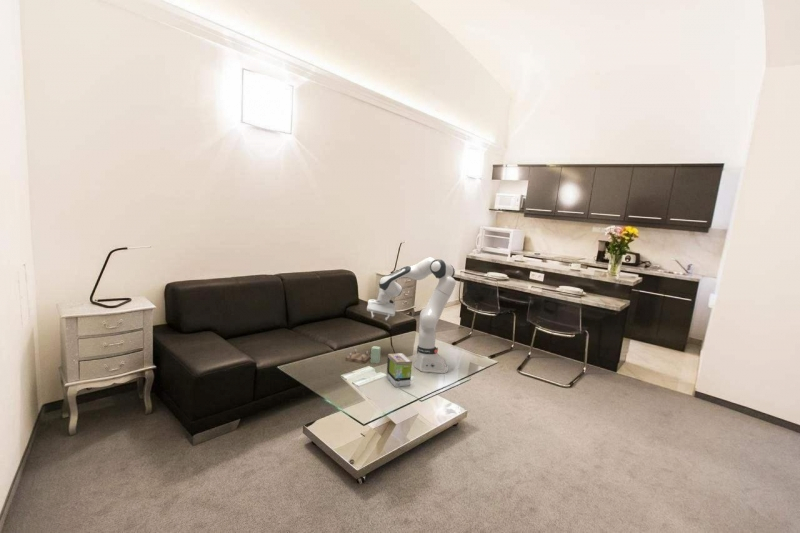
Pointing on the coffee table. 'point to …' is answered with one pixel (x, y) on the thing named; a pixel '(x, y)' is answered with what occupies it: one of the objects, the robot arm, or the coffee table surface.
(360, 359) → the walnut peg plate
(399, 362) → the tea box
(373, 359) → the sage post
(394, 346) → the coffee table surface
